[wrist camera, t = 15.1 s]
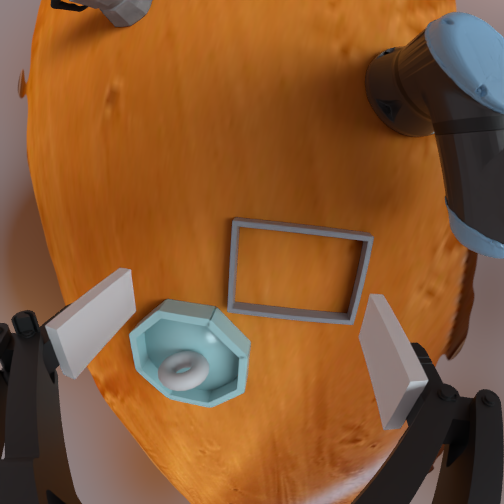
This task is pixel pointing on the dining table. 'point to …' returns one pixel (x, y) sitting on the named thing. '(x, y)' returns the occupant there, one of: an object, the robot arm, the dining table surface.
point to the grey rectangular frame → (291, 312)
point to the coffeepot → (111, 9)
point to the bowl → (193, 349)
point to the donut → (184, 379)
